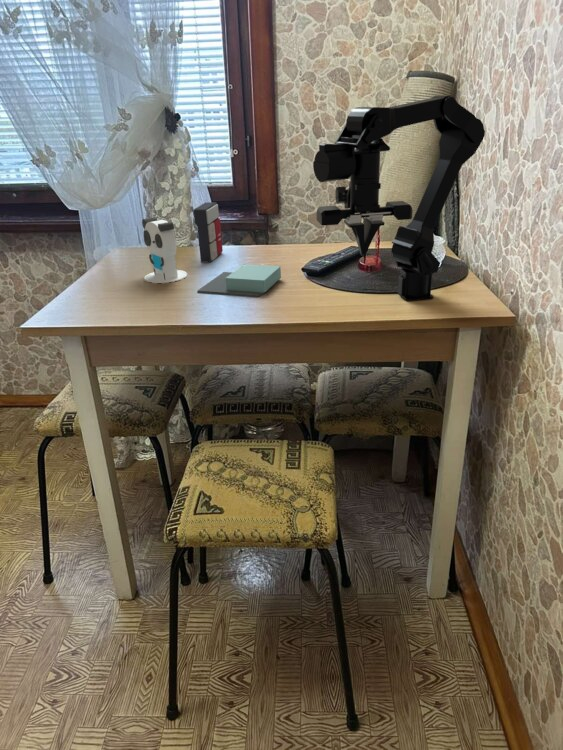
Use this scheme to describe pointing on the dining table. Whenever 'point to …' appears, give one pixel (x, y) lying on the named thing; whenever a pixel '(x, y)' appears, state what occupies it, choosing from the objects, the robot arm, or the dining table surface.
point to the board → (253, 278)
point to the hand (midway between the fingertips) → (363, 254)
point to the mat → (224, 287)
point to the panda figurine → (161, 251)
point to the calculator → (208, 231)
